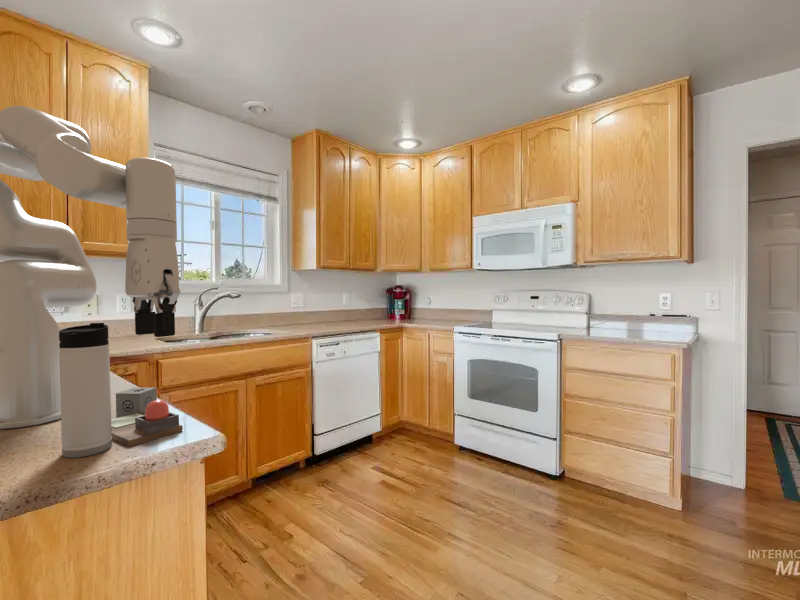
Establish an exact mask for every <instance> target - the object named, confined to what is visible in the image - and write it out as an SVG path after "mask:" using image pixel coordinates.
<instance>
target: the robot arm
mask: <svg viewBox="0 0 800 600" xmlns="http://www.w3.org/2000/svg"><path fill="white" fill-rule="evenodd" d="M91 151H92V143H91V139H90V136H89V135H88V134H87V132H86V131H85V130H84V129H83V128H82V127H80V126H79V125H77V124H75V123H73V122H71V121H68V120H65V119H63V118H60V117H57V116H56V115H55V116H54V115H51V114H50V113H47V112H44V111H41V110H39V109H36V108H33V107H29V106H24V105H12V106H7V107H4V108H3V109H2V110H0V174H1V175H6V176H10V177H14V178H15V177H16V178H19V179H24V180H27V181H28V180H29V181H33V182H42V181H45V182H46V183H48V184H50V185H51V186H53V187H54V188H56V189H57V190H59V191H61V192H62V193H64V194H66V195H68V196H70V197H73V198H75V199H78V200H81V201H87V202H93V203H97V204H103V205H107V206H111V207H115V208H119V209H120V208H121V209H125V214H126V218H125V220H126V221H125V222H126V223H125V224H126V240H127V241H128V243H127V250H126V256H125V257H126V258H125V286H124V287H125V295H127V296H128V297H130V298H132V303H133V311H134V331H135V335H136V336H141V335H143V336H145V335H153V336H154V337H155V338H163V337H172V336H173V337H174V336H175V335H176V322H175V321H176V319H175V318H176V317H175V314H176V311H177V307H176V304H177V303H178V299H179V297H180V295H181V290H180V274H179V271H180V270H179V261H178V260H179V258H178V251H177V245H176V243H177V242H178V234H177V233H178V224H177V186H176V185H177V184H176V183H177V182H176V180H177V178H176V171H175V169H174V167H173V165H171V164H170V163H168V162H166V161H163V160H160V159H158V158H157V159H156V158H151V157H150V158H149V157H133V158H131V159H129V160H128V161H126V163H125V165H123V164H121V163H117V162H114V161H110V160H108V159H105V158H101V157H98V156H95V155H92V152H91ZM96 293H97V280H96V277H95V273H94V271H93V269H92V267H91V265H90V261H89V260H88V258H87V255H86V253H85V251H84V248H83V247H82V243H81V242H80V240H79V238H78V236H77V234H76V232H74V230H73V229H71V228H70V226H68V225H66V224H65V223H63V222H60V221H56V220H52V219H47V218H40V217H34V216H31V215H29V214H28V213H27V212H26V211H25V209H24V208H23V206H22V203H21V200H20V197H19V196H18V195H17V193H16V192H15V191H13V189H12V188H11V187H10V186H9V185H8V184H7V183H6V182H5V181H3V180H2V179H1V178H0V430H5V429H17V428H24V427H30V426H36V425H41V424H46V423H50V422H53V421H57V420H58V421H59V420H61V400H60V367H59V352H60V351H59V343H60V341H59V331H60V328H59V327H60V326H59V324H58V323H57V321H56V319H55V318H54V316H52V315H51V313H50V312H49V311H48V309H49V308H64V307H79V306H83V305H87V304H88V303H90V302H91V301H92V300H93V299H94V298H95V295H96ZM47 308H48V309H47ZM154 308H155V311H154Z"/></svg>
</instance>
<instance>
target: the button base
mask: <svg viewBox="0 0 800 600" xmlns="http://www.w3.org/2000/svg"><path fill="white" fill-rule="evenodd" d="M183 427H184V426H183V425H182V424H180V415H179V414H177V413H174V412H170V411H169V417H167V418H163V419H159V420H155V421H151V422H150V421H147V420H145V413H144V412H143V413H137V414H132V415H128V416H124V417H120V418H111V429H112V435H111V437H112V440H113V441H116V442H118V443H121V444H123V445H125V446H127V447H132V446H137V445H140V444H143V443H147V442H149V441H153V440H156V439H160V438H164V437H167V436H170V435H174V434H178V433H181V432H183V431H182V430H183ZM180 431H181V432H180ZM177 432H178V433H177Z"/></svg>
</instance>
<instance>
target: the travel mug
mask: <svg viewBox="0 0 800 600" xmlns="http://www.w3.org/2000/svg"><path fill="white" fill-rule="evenodd" d="M109 340H110V339H109V325H107V324H105V322H92V323H91V322H90V323H89V324H86V325H85V324H83V325H75V326H70V327H66V328H62V329H59V341H60V343H59V351H60V352H59V367H60V400H61V419H60V424H61V425H60V427H61V428H60V430H61V453H62V454H61V455H62V457H64V458H67V459H68V458H69V459H77V458H85V457H90V456H91V457H92V456H94V455H97V454H101V453H103V452H105V451H107V450H109V449H110V448H111V447H112V446H113V441H112V440H113V439H112V437H111V435H112V429H111V419H112V401H111V399H112V398H111V397H112V396H111V369H110V367H111V364H110V362H111V361H110V348H109V347H110V343H109Z"/></svg>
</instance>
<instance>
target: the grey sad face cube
mask: <svg viewBox="0 0 800 600" xmlns="http://www.w3.org/2000/svg"><path fill="white" fill-rule="evenodd" d="M157 392H158V391H157V387H131V388H128V389H125V390H122V391H119V392H115V416H116V418H120V417H124V416H128V415H132V414H137V413H143V412H144V413H145V409H146V406H147V405H148V404H149V403H150V402H152V401H154V400H158V399H157Z"/></svg>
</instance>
